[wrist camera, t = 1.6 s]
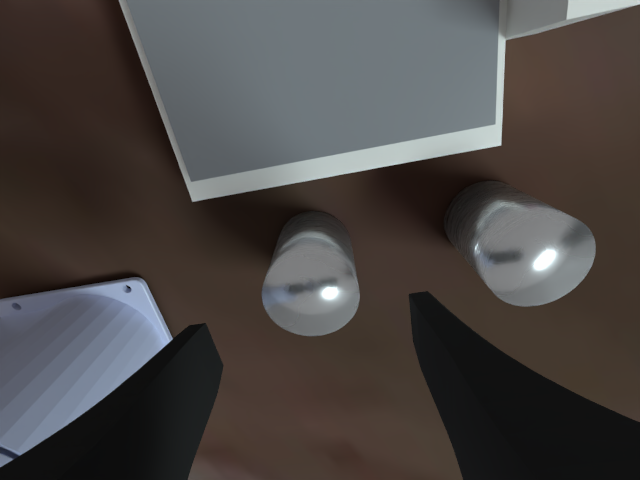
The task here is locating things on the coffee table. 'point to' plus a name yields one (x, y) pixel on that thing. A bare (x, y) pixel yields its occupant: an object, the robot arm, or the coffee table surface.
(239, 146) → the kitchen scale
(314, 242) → the cylinder
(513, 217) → the cylinder
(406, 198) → the coffee table surface
